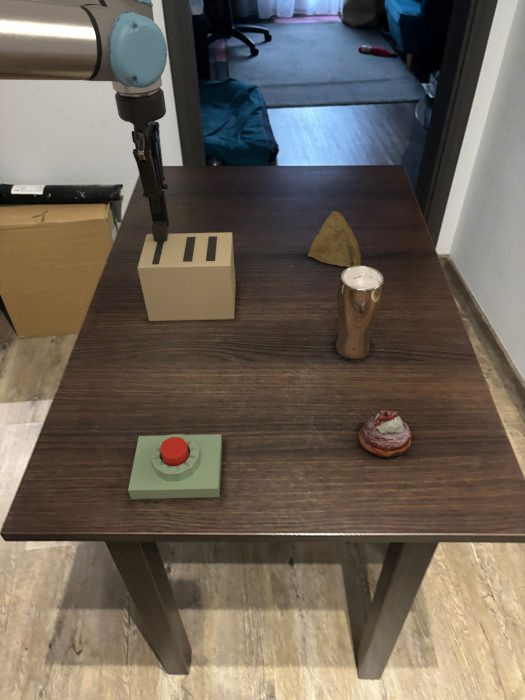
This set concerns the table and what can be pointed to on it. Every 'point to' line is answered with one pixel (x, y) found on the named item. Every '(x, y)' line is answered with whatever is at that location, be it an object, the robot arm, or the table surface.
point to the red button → (174, 451)
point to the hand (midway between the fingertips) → (161, 225)
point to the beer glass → (357, 310)
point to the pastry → (385, 435)
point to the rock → (336, 243)
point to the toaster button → (159, 231)
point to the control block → (177, 469)
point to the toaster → (188, 277)
